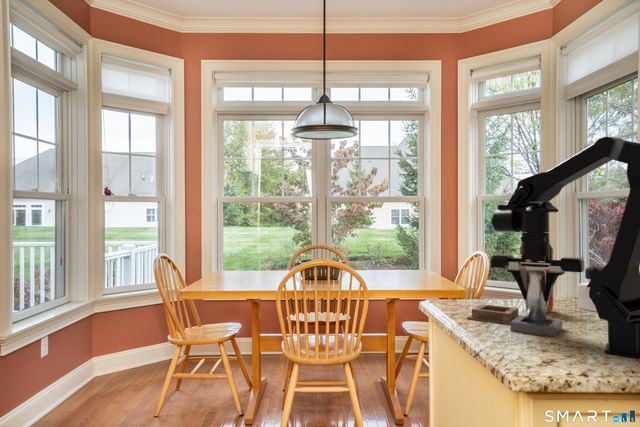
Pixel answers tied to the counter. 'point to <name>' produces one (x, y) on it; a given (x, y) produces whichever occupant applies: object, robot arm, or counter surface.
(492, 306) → the brown square tray
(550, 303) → the soda can
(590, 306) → the medicine bottle
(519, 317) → the socket block
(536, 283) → the silver metal cylinder
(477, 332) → the counter surface
